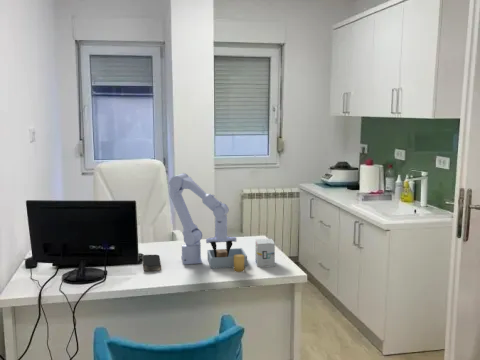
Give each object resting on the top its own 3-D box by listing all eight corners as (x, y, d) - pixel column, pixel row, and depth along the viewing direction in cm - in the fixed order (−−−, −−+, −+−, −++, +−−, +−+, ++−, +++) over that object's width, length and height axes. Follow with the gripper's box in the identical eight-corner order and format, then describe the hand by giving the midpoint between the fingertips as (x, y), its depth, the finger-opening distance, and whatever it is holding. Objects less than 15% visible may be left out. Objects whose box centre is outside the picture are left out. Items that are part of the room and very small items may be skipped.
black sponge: (142, 261, 243) (142, 254, 242) (159, 260, 244) (159, 253, 244) (143, 273, 227) (143, 265, 226) (161, 271, 229) (161, 264, 228)
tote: (210, 268, 232) (210, 258, 231) (207, 259, 245) (207, 249, 244) (247, 266, 235) (247, 256, 234) (242, 257, 248) (242, 248, 247)
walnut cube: (217, 262, 234) (217, 252, 233) (215, 259, 239) (215, 249, 238) (227, 262, 235) (227, 252, 234) (225, 258, 240) (225, 249, 239)
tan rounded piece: (234, 272, 227) (234, 257, 226) (232, 268, 231) (232, 254, 230) (245, 271, 227) (245, 257, 226) (243, 268, 232) (243, 253, 231)
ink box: (255, 261, 242) (255, 238, 240) (272, 261, 243) (272, 238, 241) (257, 267, 234) (257, 243, 232) (274, 266, 234) (275, 243, 233)
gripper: (207, 232, 230) (207, 259, 232) (237, 230, 232) (237, 258, 234) (205, 228, 236) (205, 255, 239) (235, 227, 239) (235, 253, 241)
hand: (221, 256), depth 237 cm, fingers open, 5 cm apart
